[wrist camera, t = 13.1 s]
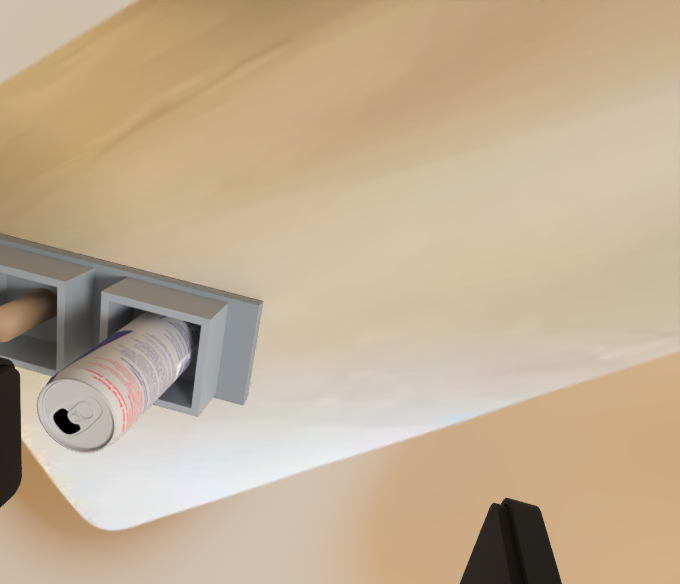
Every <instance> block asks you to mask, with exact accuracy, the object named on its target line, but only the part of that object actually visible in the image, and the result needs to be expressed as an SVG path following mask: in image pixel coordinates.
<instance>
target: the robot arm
mask: <svg viewBox="0 0 680 584" xmlns="http://www.w3.org/2000/svg"><path fill="white" fill-rule="evenodd" d="M21 477H22V466H21V408H20V374H19V372H18V370H16V369H15V366H14V364H13V362H12V361H11V360H9V359H6V358H2V357H0V507H1V506H2V505H4V504H5V503H6V502H7V501H8V500H9V499H10V498H11V497H12V496H13V495H14V494H15V492H16V491H17V489H18V487H19V485H20V482H21ZM460 584H562V582H561V579H560V576H559V572H558V569H557V565H556V562H555V559H554V555H553V552H552V548H551V545H550V541H549V538H548V534H547V531H546V527H545V524H544V521H543V517H542V514H541V511H540V509H539V508H538V507H537V506H535V505H531V504H527V503H524V502H520V501H517V500H513V499H509V498H505V499H504V500H503V502H502V503H501V505H500V504H496V503H493V504H492V505H491V507H490V508H489V511H488V513H487V517H486V519H485V521H484V524H483V526H482V529H481V531H480V534H479V536H478V539H477V541H476V544H475V546H474V549H473V552H472V554H471V556H470V559H469V562H468V565H467V567H466V569H465V572H464V574H463V577H462V579H461V582H460Z"/></svg>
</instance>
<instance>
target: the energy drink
mask: <svg viewBox="0 0 680 584" xmlns="http://www.w3.org/2000/svg"><path fill="white" fill-rule="evenodd" d="M199 341H200V329H199V327H198V325H197V324H194V323H191V322H187V321H183V320H179V319H175V318H172V317H168V316H164V315H160V314H157V313H153V312H149V311H146V312H144V313H143V314H142V315H140V316H139V317H137V318H136V319H134V320H133V321H131V322H130V323H129V324H127V325H126V326H124V327H123V328H121V329H120V330H118V331H117V332H116V333H114V334H113V335H111V336H110V337H108V338H107V339H105V340H104V341H103V342H101V343H100V344H98V345H97V346H95V347H94V348H92V349H91V350H90V351H88V352H87V353H85V354H84V355H82V356H81V357H79V358H78V359H77V360H75V361H74V362H72V363H71V364H69V365H68V366H66V367H65V368H64V369H62V370H61V371H59V372H58V373H56V374H55V375H54V376H53V377H52V378H51V379H50V380H49V382H48V383H47V385H46V386H45V387H44V388H43V389H42V391H41V392H40V394H39V397H38V401H37V411H38V416H39V419H40V421H41V423H42V425H43V427H44V429H45V430H46V432H47V433H48V434H49V435H50V436H51V437H52V438H53V439H54V440H55V441H56V442H58V443H59V444H60V445H62V446H64V447H65V448H67V449H70V450H72V451H75V452H80V453H94V452H98V451H100V450H103V449H104V448H106V447H107V446H109V445H112V444H114V443H115V442H116V441H118V440H119V439H120V438H121V437H122V436H123V435H124V434H125V433H126V432H127V431H128V430H129V429H130V428H131V427H132V425H133V424H134V423H135V422H136V421H137V420H138V419H139V418H140V417H141V416H142V415H143V414H144V413H145V412H146V411H147V410H148V409H149V408H150V407H151V406H152V404H153V403H154V402H155V401H156V400H157V399H158V398H159V397H160V396H161V395H162V394H163V393H164V392H165V391H166V390H167V389H168V388H169V387H170V386H171V385H172V383H173V382H174V381H175V380H176V379H177V378H178V377H179V376H180V375H181V374H182V373H183V372H184V371H185V370H186V369H187V368H188V367H189V366H190V365H191V364H192V363H193V361H194V360H195V359H196V358H197V357H198V349H199Z"/></svg>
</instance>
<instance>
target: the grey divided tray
mask: <svg viewBox="0 0 680 584" xmlns="http://www.w3.org/2000/svg"><path fill="white" fill-rule="evenodd" d="M262 305H263V301H260V300H256V299H252V298H248V297H244V296H240V295H236V294H233V293H229V292H225V291H221V290H217V289H213V288H209V287H205V286H201V285H198V284H194V283H190V282H186V281H182V280H178V279H174V278H170V277H167V276H163V275H159V274H155V273H151V272H147V271H143V270H139V269H135V268H132V267H128V266H124V265H120V264H116V263H112V262H108V261H104V260H100V259H97V258H93V257H89V256H85V255H81V254H77V253H73V252H69V251H65V250H62V249H58V248H54V247H50V246H46V245H42V244H38V243H34V242H30V241H27V240H23V239H19V238H15V237H11V236H7V235H3V234H0V357H2V358H6V359H9V360H11V361H12V362H13V364H14V366H17V367H20V368H24V369H27V370H31V371H34V372H38V373H42V374H45V375H49V376H52V377H53V376H54V375H55V374H56V373H58V372H59V371H61V370H62V369H64V368H65V367H66V366H68V365H69V364H71V363H72V362H74V361H75V360H77V359H78V358H79V357H81V356H82V355H84V354H85V353H87V352H88V351H90V350H91V349H92V348H94V347H95V346H97V345H98V344H100V343H101V342H103V341H104V340H105V339H107V338H108V337H110V336H111V335H113V334H114V333H116V332H117V331H118V330H120V329H121V328H123V327H124V326H126V325H127V324H129V323H130V322H131V321H133V320H134V319H136V318H137V317H139V316H140V315H142V314H143V313H144V312H146V311H149V312H153V313H157V314H160V315H164V316H168V317H172V318H175V319H179V320H183V321H187V322H191V323H194V324H197V325H198V327H199V329H200V341H199V349H198V357H197V358H196V359H195V360H194V361H193V363H192V364H191V365H190V366H189V367H188V368H187V369H186V370H185V371H184V372H183V373H182V374H181V375H180V376H179V377H178V378H177V379H176V380H175V381H174V382H173V383H172V385H171V386H170V387H169V388H168V389H167V390H166V391H165V392H164V393H163V394H162V395H161V396H160V397H159V398H158V399H157V400H156V401H155V402H154V403H153V405H156V406H160V407H164V408H167V409H171V410H174V411H178V412H182V413H185V414H189V415H192V416H196V417H198V416H199V415H200V414H201V412H202V411H203V410H204V408H205V407H206V406H207V405H208V403H209V402H210V401H211V399H212V398H213V397H214V398H218V399H221V400H225V401H229V402H232V403H236V404H240V405H244V403H245V401H246V400H247V396H248V390H249V384H250V378H251V372H252V365H253V359H254V353H255V347H256V341H257V335H258V329H259V323H260V317H261V311H262Z"/></svg>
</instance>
